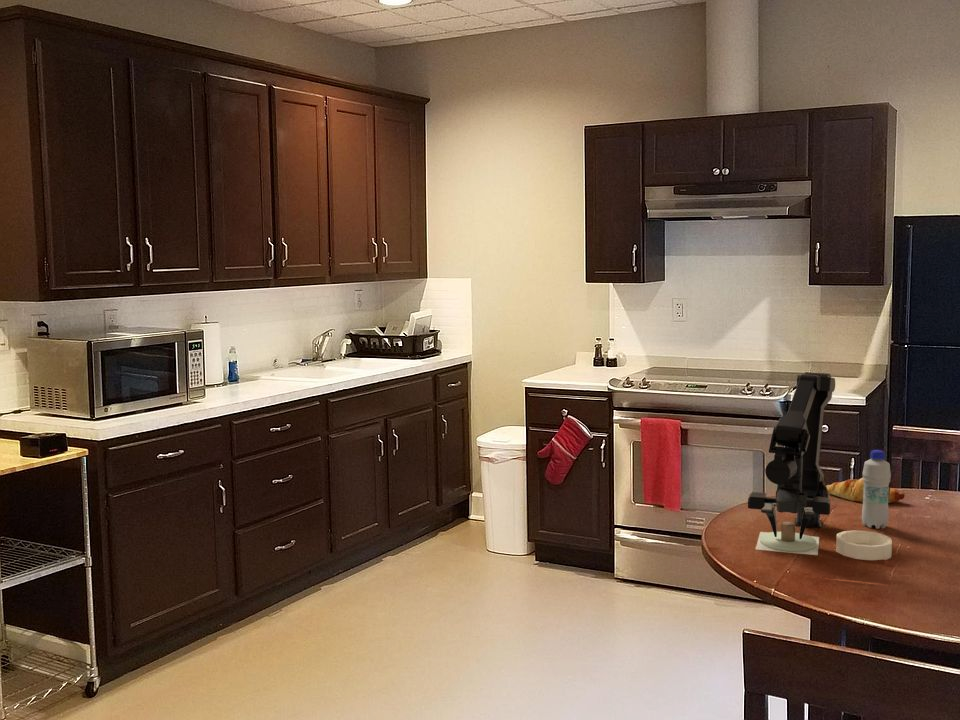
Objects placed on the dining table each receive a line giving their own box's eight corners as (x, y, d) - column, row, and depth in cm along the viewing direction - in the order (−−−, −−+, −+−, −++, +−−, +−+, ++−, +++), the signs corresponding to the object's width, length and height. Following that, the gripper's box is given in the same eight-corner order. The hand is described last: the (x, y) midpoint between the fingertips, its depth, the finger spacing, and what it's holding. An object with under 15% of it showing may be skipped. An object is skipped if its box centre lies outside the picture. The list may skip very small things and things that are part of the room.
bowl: (836, 542, 238) (836, 528, 237) (889, 547, 234) (890, 533, 233) (835, 558, 227) (836, 543, 226) (892, 563, 222) (892, 548, 222)
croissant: (822, 508, 279) (819, 486, 275) (830, 484, 286) (827, 463, 282) (902, 517, 267) (900, 495, 263) (908, 492, 274) (906, 471, 270)
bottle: (884, 523, 252) (887, 447, 250) (892, 531, 246) (895, 453, 243) (857, 522, 253) (859, 446, 250) (864, 530, 247) (867, 452, 244)
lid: (762, 532, 245) (762, 513, 244) (817, 537, 241) (817, 518, 240) (757, 548, 233) (758, 529, 232) (815, 554, 229) (816, 534, 228)
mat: (760, 533, 246) (760, 531, 246) (819, 538, 241) (819, 537, 241) (755, 550, 233) (755, 549, 233) (817, 556, 228) (817, 555, 228)
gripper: (746, 480, 230) (745, 544, 232) (830, 486, 224) (828, 552, 226) (750, 469, 241) (749, 530, 243) (831, 474, 234) (829, 537, 236)
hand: (788, 537), depth 237 cm, fingers open, 5 cm apart
